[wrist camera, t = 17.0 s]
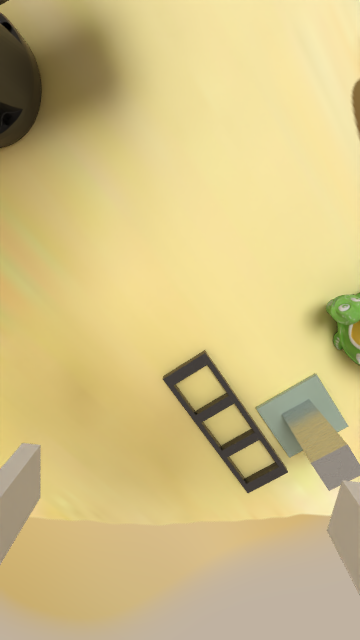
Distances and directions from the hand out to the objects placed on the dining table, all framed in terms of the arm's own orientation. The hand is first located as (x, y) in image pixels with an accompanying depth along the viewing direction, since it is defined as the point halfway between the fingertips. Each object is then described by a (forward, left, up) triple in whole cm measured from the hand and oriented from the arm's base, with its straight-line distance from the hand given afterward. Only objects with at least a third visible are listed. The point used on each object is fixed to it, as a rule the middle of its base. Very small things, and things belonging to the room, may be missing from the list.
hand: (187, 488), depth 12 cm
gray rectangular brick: (+21, -14, -31) cm, 40 cm away
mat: (+21, -14, -32) cm, 41 cm away
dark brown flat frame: (+9, -17, -32) cm, 37 cm away
